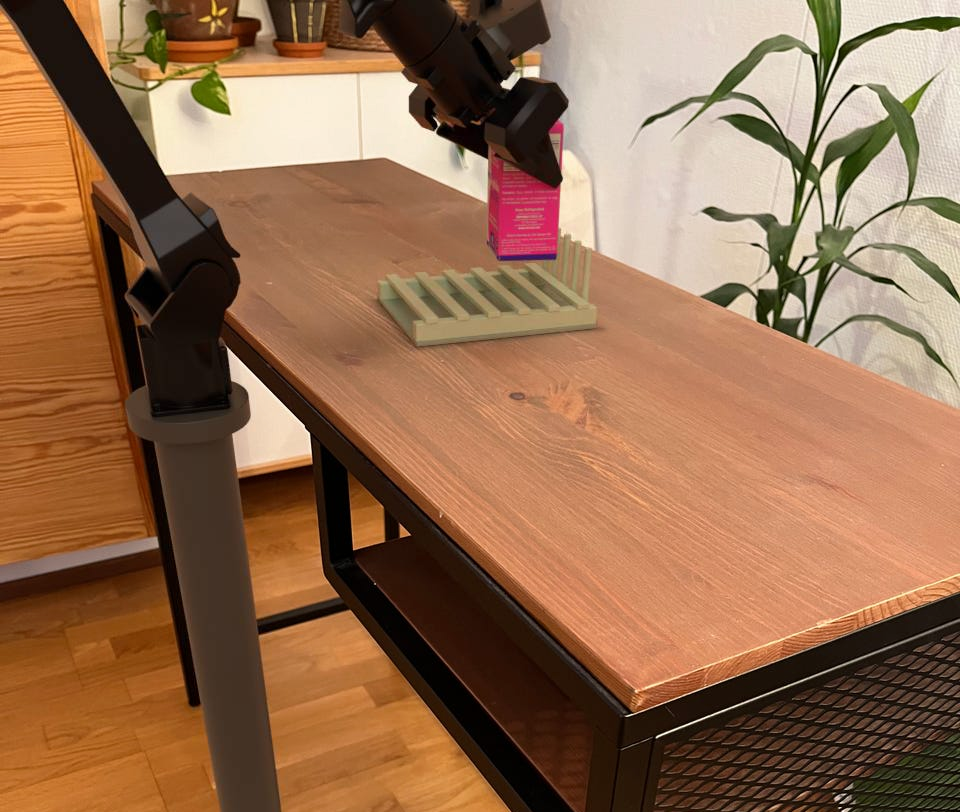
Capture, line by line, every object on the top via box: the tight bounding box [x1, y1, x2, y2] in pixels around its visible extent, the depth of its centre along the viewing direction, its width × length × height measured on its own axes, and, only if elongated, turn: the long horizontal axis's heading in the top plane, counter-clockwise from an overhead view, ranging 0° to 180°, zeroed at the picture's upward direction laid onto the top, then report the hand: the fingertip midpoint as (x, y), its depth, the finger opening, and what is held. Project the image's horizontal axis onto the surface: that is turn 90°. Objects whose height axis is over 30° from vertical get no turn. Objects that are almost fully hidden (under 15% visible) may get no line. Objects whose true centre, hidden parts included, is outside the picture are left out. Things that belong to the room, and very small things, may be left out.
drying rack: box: [377, 227, 598, 348], centre depth 100 cm, size 18×14×7 cm
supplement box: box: [486, 119, 565, 262], centre depth 93 cm, size 6×6×12 cm
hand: (538, 176), depth 93 cm, fingers closed on supplement box, 7 cm apart
